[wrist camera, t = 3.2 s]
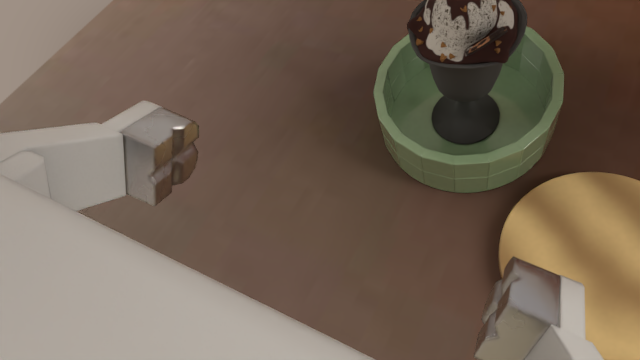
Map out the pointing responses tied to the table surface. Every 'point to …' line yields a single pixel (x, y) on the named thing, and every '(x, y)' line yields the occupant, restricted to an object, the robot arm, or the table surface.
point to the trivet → (586, 250)
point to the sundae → (466, 59)
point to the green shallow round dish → (482, 157)
